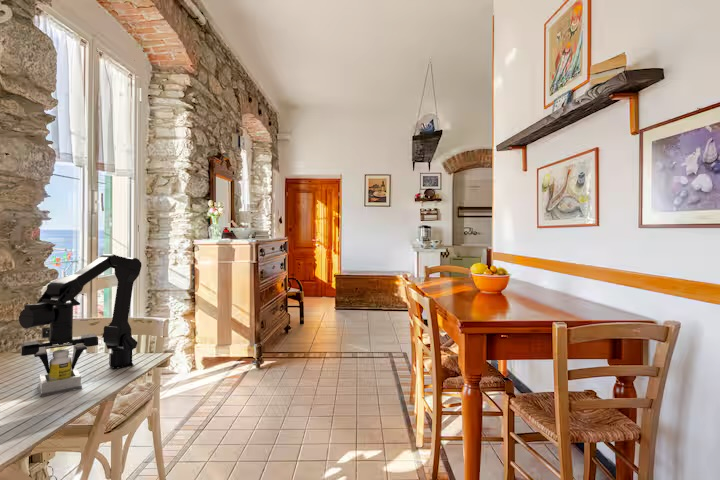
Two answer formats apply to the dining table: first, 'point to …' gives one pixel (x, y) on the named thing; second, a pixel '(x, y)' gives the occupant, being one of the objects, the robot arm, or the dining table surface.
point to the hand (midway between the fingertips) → (60, 371)
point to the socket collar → (59, 384)
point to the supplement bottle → (60, 365)
